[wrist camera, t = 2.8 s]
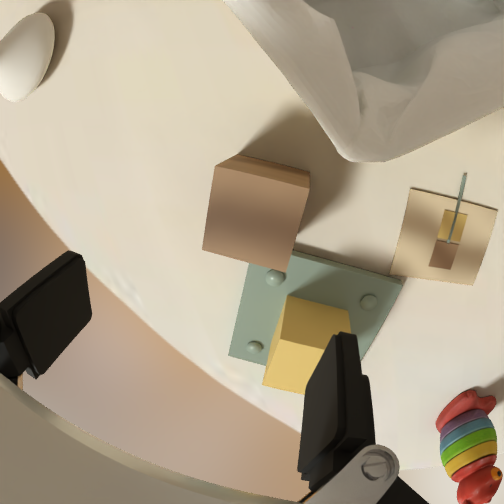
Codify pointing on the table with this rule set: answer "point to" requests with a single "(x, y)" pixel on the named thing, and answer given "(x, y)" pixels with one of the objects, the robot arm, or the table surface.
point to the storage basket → (385, 66)
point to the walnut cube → (255, 211)
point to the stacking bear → (470, 447)
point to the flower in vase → (25, 56)
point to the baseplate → (312, 289)
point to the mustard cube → (301, 342)
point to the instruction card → (442, 238)
